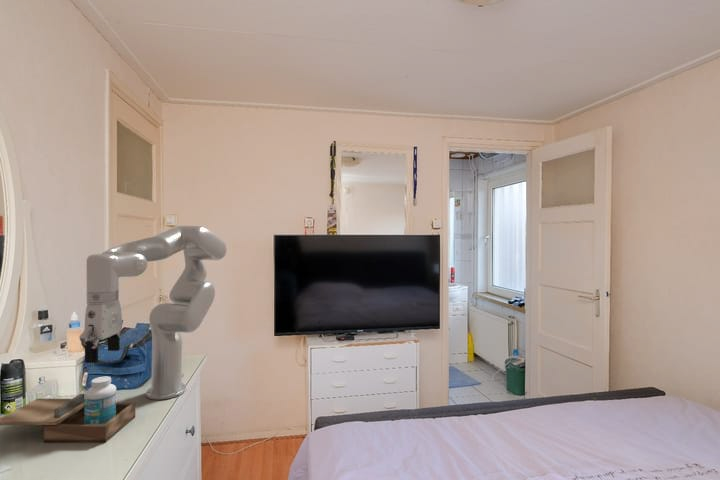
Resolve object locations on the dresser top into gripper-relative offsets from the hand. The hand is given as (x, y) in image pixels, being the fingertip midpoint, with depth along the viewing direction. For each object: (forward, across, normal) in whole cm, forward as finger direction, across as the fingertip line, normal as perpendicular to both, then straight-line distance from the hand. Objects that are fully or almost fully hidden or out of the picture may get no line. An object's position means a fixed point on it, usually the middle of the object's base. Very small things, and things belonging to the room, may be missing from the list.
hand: (103, 356), depth 106 cm
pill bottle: (+20, -1, 0) cm, 20 cm away
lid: (+16, -1, +15) cm, 22 cm away
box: (+21, -1, +2) cm, 21 cm away
